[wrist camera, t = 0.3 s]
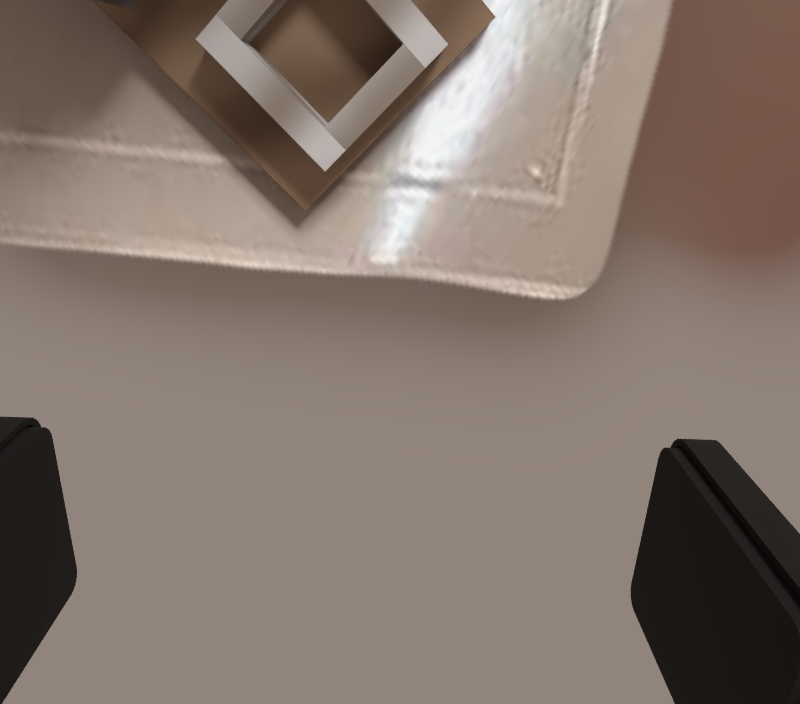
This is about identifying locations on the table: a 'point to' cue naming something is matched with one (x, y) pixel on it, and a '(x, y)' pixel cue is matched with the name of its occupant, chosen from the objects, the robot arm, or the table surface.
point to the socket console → (302, 70)
